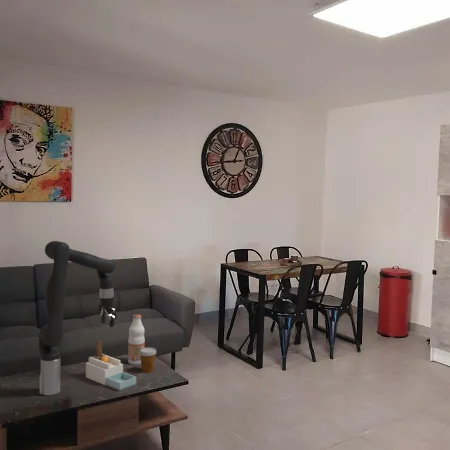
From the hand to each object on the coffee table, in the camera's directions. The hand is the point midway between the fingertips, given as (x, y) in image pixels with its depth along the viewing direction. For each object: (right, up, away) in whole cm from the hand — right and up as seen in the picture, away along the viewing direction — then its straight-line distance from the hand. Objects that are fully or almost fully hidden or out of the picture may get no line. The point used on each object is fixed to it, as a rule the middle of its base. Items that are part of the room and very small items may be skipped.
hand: (107, 324), depth 270 cm
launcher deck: (-1, -28, -5) cm, 28 cm away
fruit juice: (+12, -26, +20) cm, 35 cm away
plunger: (-4, -19, -3) cm, 20 cm away
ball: (0, -18, -6) cm, 19 cm away
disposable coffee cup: (+21, -28, +7) cm, 35 cm away
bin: (+10, -29, -13) cm, 33 cm away
